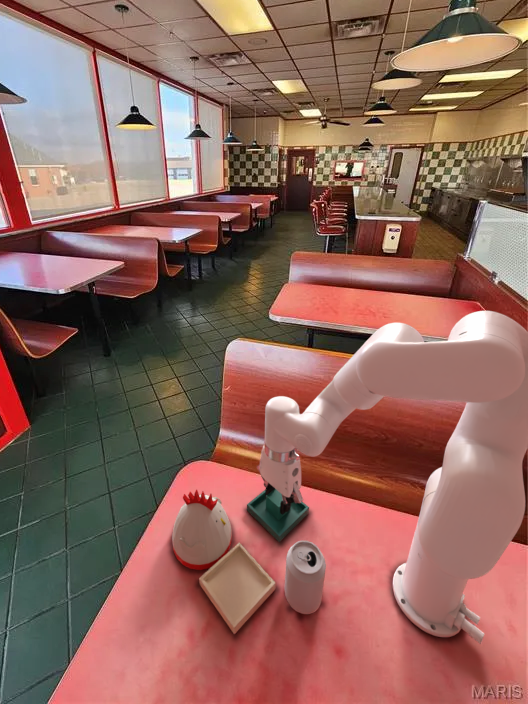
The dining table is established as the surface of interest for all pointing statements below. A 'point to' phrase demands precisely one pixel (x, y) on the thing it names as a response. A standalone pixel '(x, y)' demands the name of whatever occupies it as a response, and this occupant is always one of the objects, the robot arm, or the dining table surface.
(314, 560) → the can
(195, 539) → the kitchen timer
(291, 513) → the green tray
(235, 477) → the dining table surface
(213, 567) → the cream tray
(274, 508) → the block
